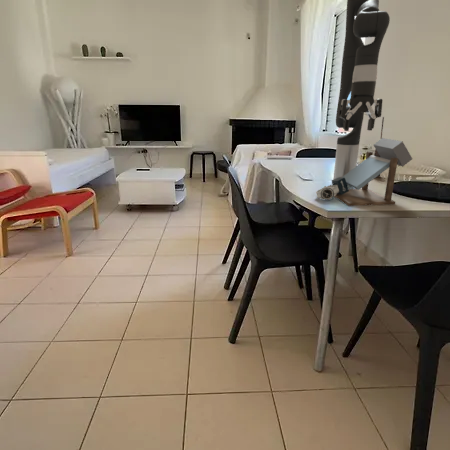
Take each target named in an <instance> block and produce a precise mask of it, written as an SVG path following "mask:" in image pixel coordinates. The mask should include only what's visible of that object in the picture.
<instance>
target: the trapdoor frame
mask: <svg viewBox="0 0 450 450" xmlns="http://www.w3.org/2000/svg"><path fill="white" fill-rule="evenodd" d="M370 155H373V156H374V152H373V151H367V152H366V155H365V160H366V159H367V158H368V157H369V156H370ZM397 162H398V158H391V160H390V166H389V168H388V175H387V180H386V187H385V193H384V195H382V194H380V193H378V192H375V191H373V190H372V189H369V183H367V184H366V185H365V186H363V187H362V188H361V189H359V190H357V189H355V188H348V190H349V192H346V193H344V194H342V195H341V194H336V195H335V196H334V197H333V198H335V199H337V200H339V201H340V202H342V203H343V204H345V205H346V206H348V207H357V206H358V207H360V206H381V205H382V206H384V205H385V206H386V205H396V201H395V200H393V199H392V196H393V191H394V184H395V179H396V172H397V167H398V165H397Z"/></svg>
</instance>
